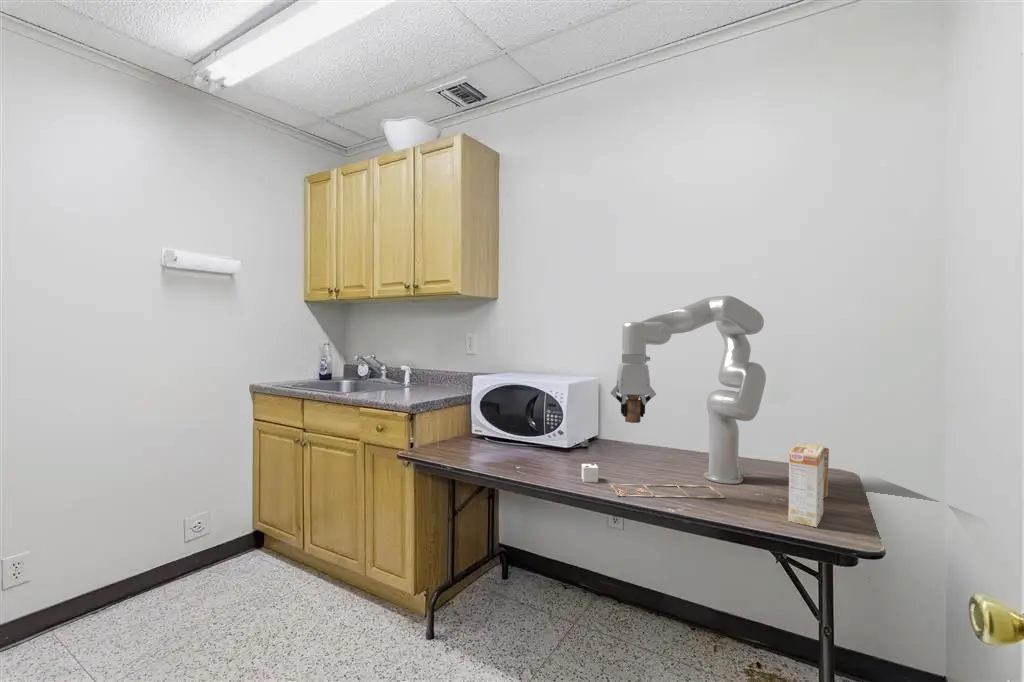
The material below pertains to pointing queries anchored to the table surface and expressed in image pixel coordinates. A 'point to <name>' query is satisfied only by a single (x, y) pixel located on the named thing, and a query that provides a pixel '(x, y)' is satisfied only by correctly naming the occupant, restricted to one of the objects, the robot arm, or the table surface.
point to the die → (590, 472)
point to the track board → (665, 496)
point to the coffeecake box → (806, 484)
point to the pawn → (633, 409)
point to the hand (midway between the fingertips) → (632, 415)
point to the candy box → (825, 471)
